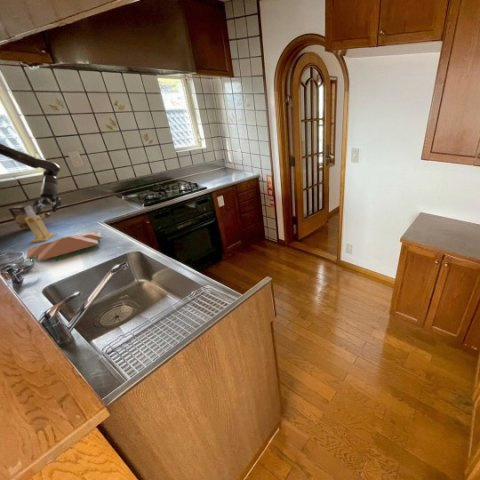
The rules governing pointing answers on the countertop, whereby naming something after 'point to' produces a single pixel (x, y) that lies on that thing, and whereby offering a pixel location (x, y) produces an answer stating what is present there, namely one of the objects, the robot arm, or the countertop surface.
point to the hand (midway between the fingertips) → (46, 212)
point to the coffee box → (22, 215)
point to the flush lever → (45, 215)
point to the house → (64, 246)
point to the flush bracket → (39, 229)
